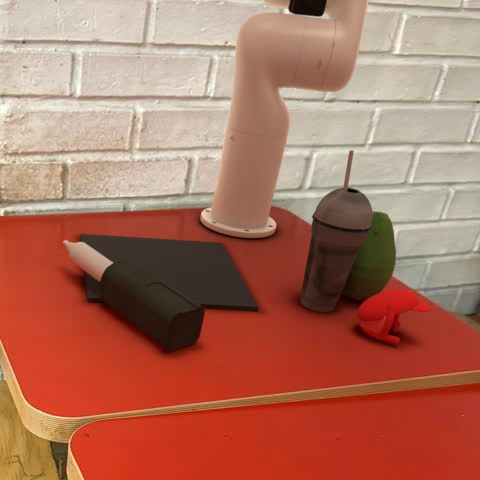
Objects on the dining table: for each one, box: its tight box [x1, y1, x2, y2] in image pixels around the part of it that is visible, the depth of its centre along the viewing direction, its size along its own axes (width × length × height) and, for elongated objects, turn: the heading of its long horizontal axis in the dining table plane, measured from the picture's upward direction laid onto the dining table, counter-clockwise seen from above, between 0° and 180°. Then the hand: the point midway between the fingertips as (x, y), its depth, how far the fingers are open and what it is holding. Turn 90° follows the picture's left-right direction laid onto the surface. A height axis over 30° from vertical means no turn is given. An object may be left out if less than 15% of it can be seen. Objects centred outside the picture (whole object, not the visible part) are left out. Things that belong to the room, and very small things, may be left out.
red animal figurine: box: [356, 289, 433, 345], centre depth 85 cm, size 8×6×6 cm
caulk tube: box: [62, 239, 206, 353], centre depth 85 cm, size 5×5×25 cm
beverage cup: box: [300, 149, 373, 313], centre depth 87 cm, size 7×7×20 cm
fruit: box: [341, 210, 397, 301], centre depth 92 cm, size 8×8×12 cm
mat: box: [79, 233, 259, 312], centre depth 97 cm, size 22×22×1 cm
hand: (305, 14), depth 69 cm, fingers closed
